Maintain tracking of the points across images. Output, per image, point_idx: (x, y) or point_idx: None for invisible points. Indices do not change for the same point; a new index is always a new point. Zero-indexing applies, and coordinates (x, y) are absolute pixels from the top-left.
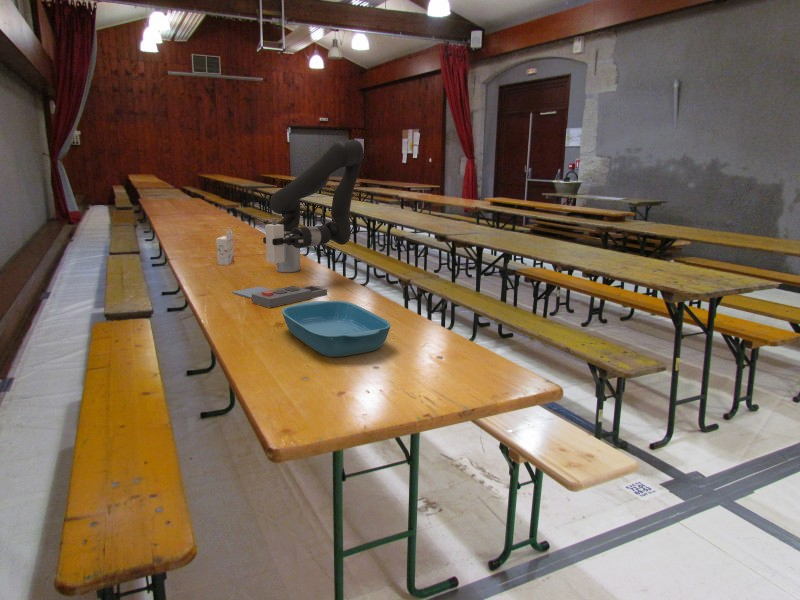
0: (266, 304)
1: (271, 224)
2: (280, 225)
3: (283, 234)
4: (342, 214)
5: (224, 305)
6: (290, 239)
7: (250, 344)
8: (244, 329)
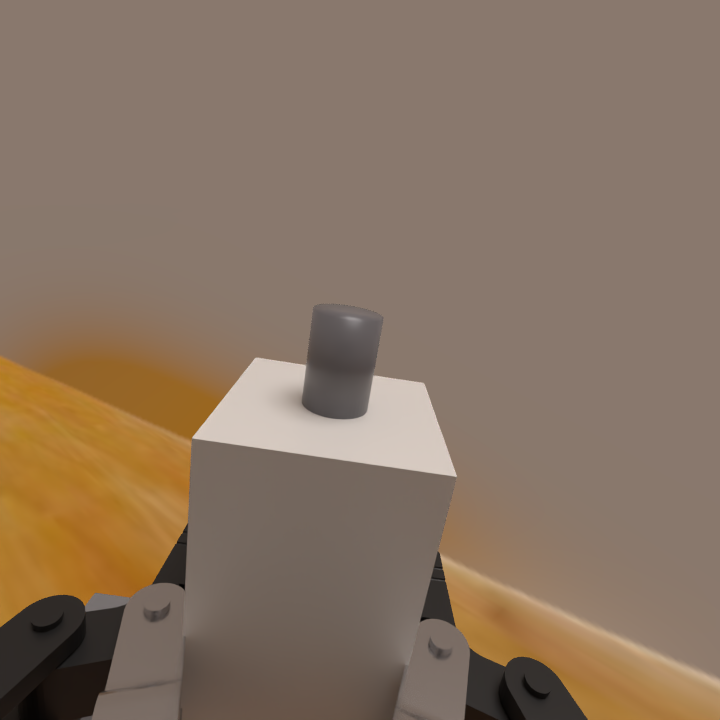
0: None
1: (398, 410)
2: (217, 406)
3: (188, 590)
4: None
5: None
6: (7, 641)
7: (16, 411)
8: (79, 454)
